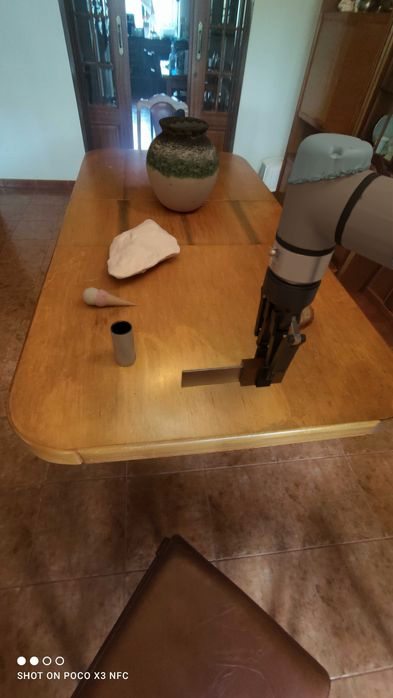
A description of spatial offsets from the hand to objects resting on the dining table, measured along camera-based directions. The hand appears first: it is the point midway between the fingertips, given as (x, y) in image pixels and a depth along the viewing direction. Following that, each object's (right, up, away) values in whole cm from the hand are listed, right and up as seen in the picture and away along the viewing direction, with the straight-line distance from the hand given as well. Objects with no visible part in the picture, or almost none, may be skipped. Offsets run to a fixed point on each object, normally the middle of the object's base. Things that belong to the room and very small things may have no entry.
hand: (259, 378), depth 60 cm
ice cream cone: (-36, +18, +28) cm, 49 cm away
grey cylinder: (-29, +3, +14) cm, 32 cm away
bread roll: (+15, +14, +29) cm, 35 cm away
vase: (-18, +66, +75) cm, 102 cm away
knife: (-5, -1, -1) cm, 6 cm away
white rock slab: (-29, +34, +44) cm, 63 cm away
